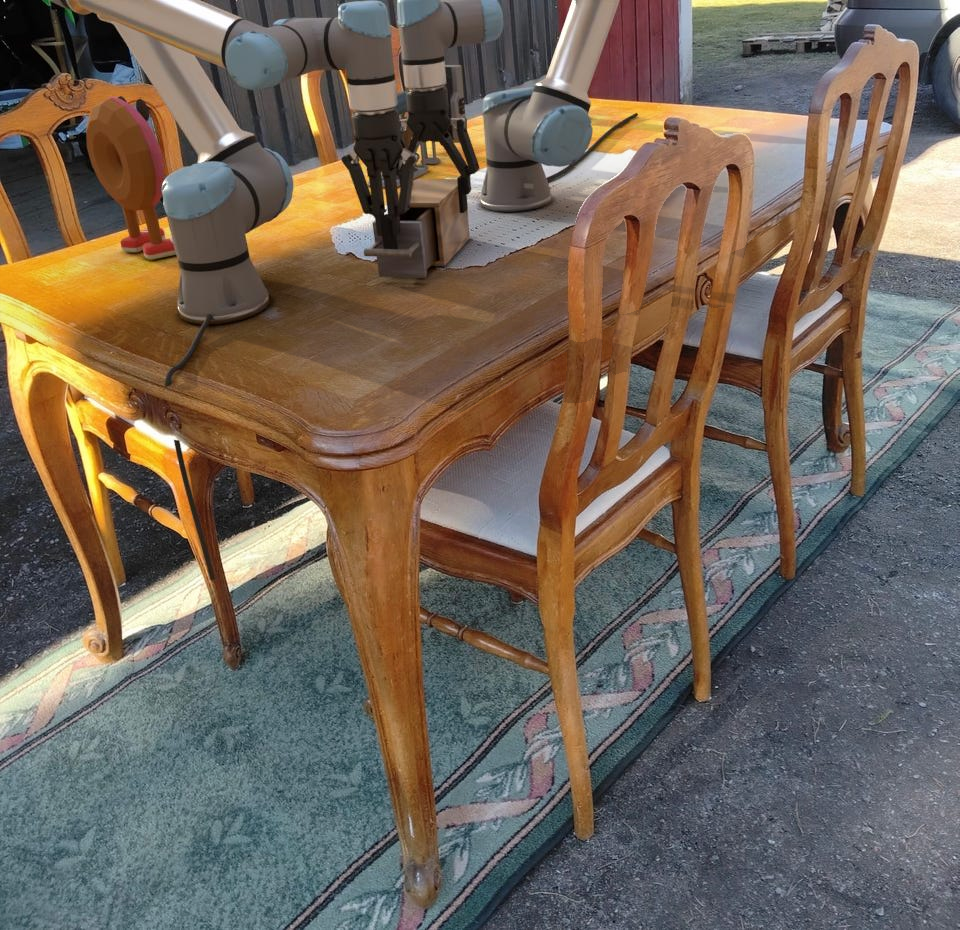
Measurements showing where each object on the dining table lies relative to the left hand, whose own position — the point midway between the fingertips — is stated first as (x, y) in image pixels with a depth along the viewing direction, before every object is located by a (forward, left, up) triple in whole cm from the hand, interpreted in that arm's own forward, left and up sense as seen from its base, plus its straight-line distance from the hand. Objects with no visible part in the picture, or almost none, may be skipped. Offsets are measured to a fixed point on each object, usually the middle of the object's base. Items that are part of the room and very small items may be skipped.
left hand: (391, 254), depth 165 cm
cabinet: (+20, 0, -6) cm, 21 cm away
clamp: (+81, +25, -7) cm, 86 cm away
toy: (+16, +59, -7) cm, 62 cm away
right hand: (+25, 0, 0) cm, 25 cm away
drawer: (+8, 0, -5) cm, 9 cm away
